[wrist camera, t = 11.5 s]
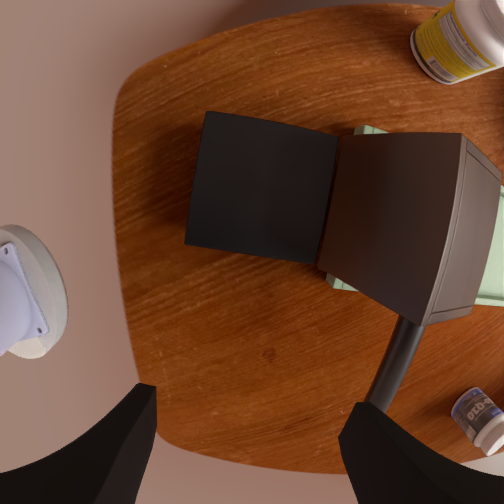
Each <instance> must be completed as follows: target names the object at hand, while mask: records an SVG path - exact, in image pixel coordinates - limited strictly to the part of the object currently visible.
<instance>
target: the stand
mask: <svg viewBox="0 0 504 504" xmlns="http://www.w3.org/2000/svg"><path fill="white" fill-rule="evenodd" d="M338 142H339V137H338V136H334V135H331V134H327V133H323V132H319V131H315V130H311V129H307V128H303V127H298V126H294V125H289V124H285V123H280V122H275V121H270V120H264V119H259V118H253V117H248V116H241V115H235V114H228V113H221V112H214V111H206V114H205V118H204V123H203V128H202V134H201V139H200V144H199V150H198V155H197V161H196V167H195V173H194V179H193V185H192V191H191V198H190V204H189V211H188V218H187V226H186V233H185V241H184V243H185V244H186V245H191V246H197V247H204V248H210V249H216V250H223V251H229V252H236V253H242V254H248V255H255V256H261V257H268V258H274V259H281V260H287V261H294V262H300V263H307V264H315V262H316V258H317V253H318V249H319V244H320V239H321V235H322V230H323V225H324V220H325V215H326V210H327V205H328V200H329V195H330V189H331V184H332V178H333V172H334V167H335V161H336V155H337V148H338Z"/></svg>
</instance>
